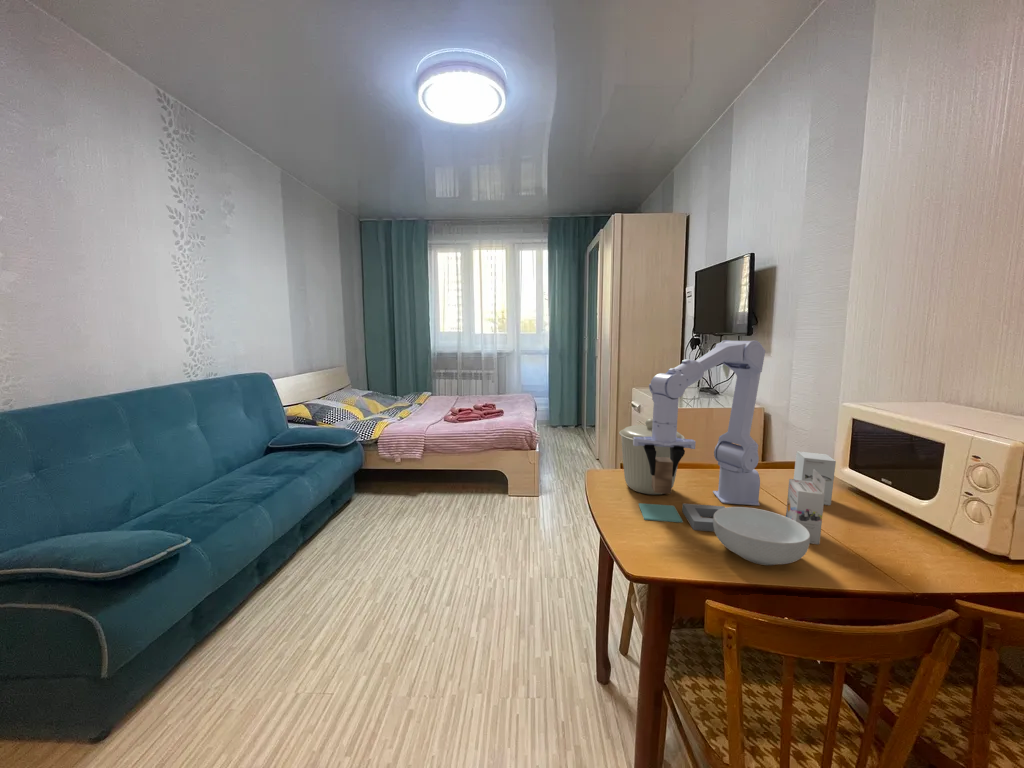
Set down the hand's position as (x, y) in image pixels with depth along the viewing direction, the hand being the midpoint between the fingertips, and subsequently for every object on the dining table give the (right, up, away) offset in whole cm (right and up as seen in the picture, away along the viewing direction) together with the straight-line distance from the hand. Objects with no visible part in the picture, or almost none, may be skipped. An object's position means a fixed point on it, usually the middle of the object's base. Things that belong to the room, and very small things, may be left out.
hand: (661, 474), depth 101 cm
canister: (+3, -8, +18) cm, 20 cm away
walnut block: (0, -4, +1) cm, 4 cm away
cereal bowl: (+13, -13, -18) cm, 26 cm away
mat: (0, -10, +1) cm, 10 cm away
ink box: (+29, -12, -9) cm, 32 cm away
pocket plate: (+10, -11, -3) cm, 15 cm away
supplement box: (+46, -10, +11) cm, 48 cm away
